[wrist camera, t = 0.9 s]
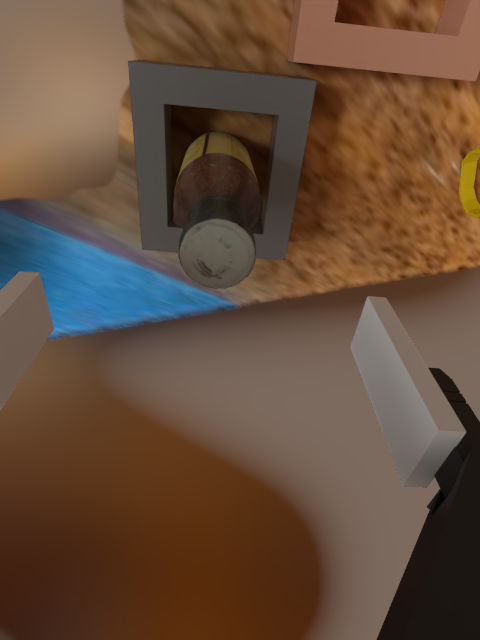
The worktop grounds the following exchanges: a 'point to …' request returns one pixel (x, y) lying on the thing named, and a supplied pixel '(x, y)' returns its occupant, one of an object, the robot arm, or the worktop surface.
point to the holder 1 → (226, 94)
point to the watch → (469, 184)
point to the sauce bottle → (217, 210)
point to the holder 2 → (388, 42)
